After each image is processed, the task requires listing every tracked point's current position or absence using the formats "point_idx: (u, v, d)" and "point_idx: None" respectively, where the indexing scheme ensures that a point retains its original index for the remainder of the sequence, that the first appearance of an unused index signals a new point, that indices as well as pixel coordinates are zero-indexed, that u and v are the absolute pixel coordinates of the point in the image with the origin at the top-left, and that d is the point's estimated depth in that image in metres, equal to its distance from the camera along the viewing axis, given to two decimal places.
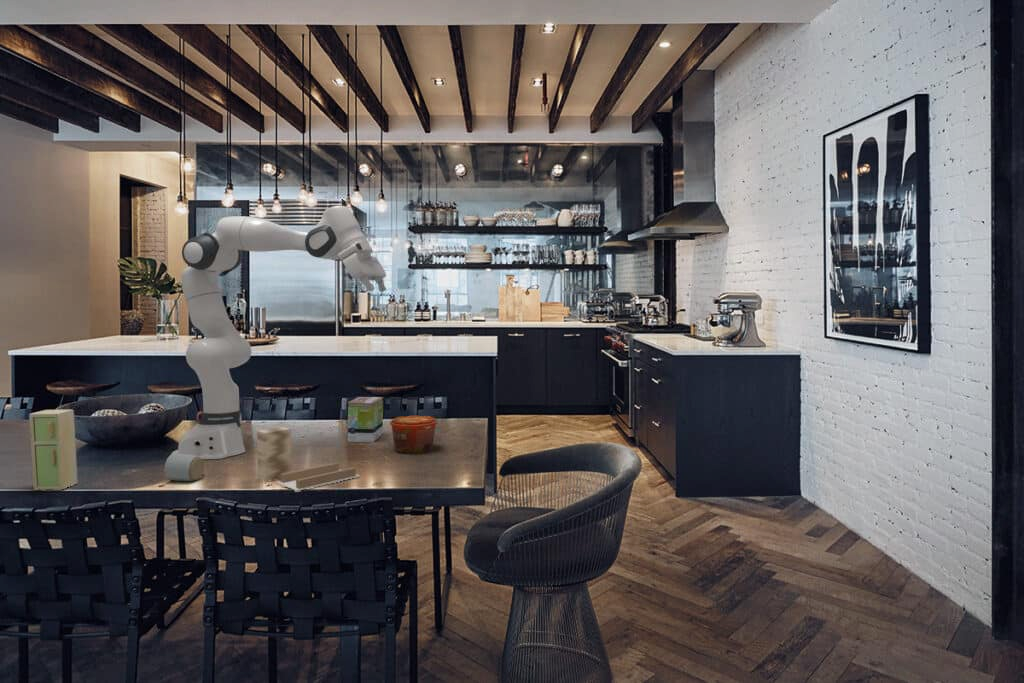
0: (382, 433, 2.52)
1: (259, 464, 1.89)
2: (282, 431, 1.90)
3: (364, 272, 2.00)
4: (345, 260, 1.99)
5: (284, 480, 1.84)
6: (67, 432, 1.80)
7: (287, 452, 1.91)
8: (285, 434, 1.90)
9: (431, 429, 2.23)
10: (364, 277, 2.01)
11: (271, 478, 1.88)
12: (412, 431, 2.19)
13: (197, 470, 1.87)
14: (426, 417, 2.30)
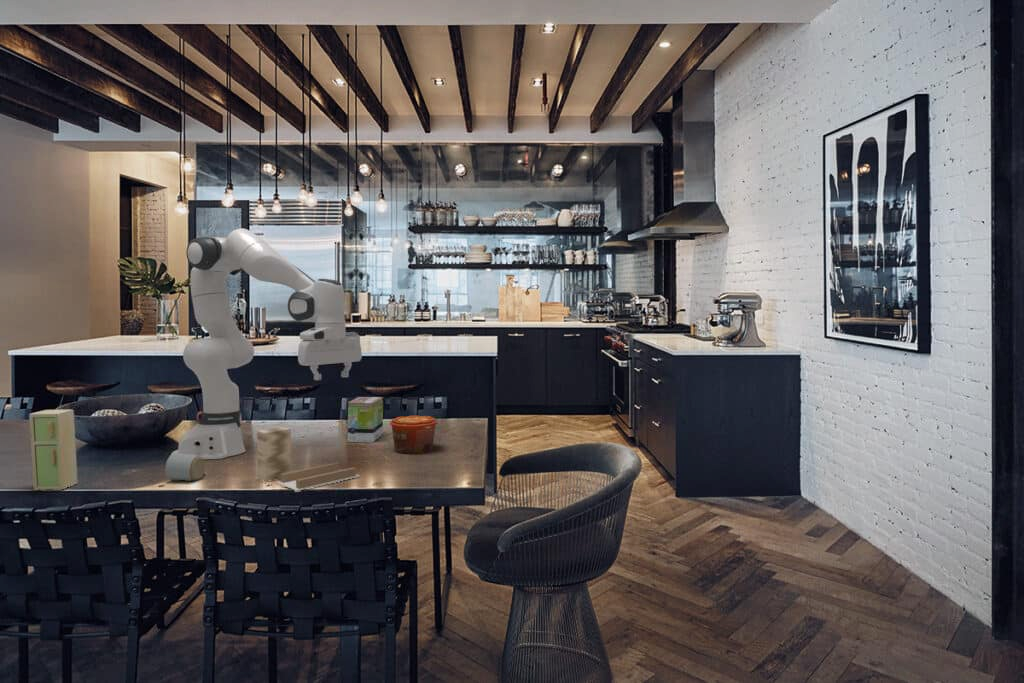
0: (382, 433, 2.52)
1: (259, 464, 1.89)
2: (282, 431, 1.90)
3: (311, 363, 1.93)
4: (300, 343, 1.93)
5: (284, 480, 1.84)
6: (67, 432, 1.80)
7: (287, 452, 1.91)
8: (285, 434, 1.90)
9: (431, 429, 2.23)
10: (313, 366, 1.95)
11: (271, 478, 1.88)
12: (412, 431, 2.19)
13: (198, 469, 1.88)
14: (426, 417, 2.30)
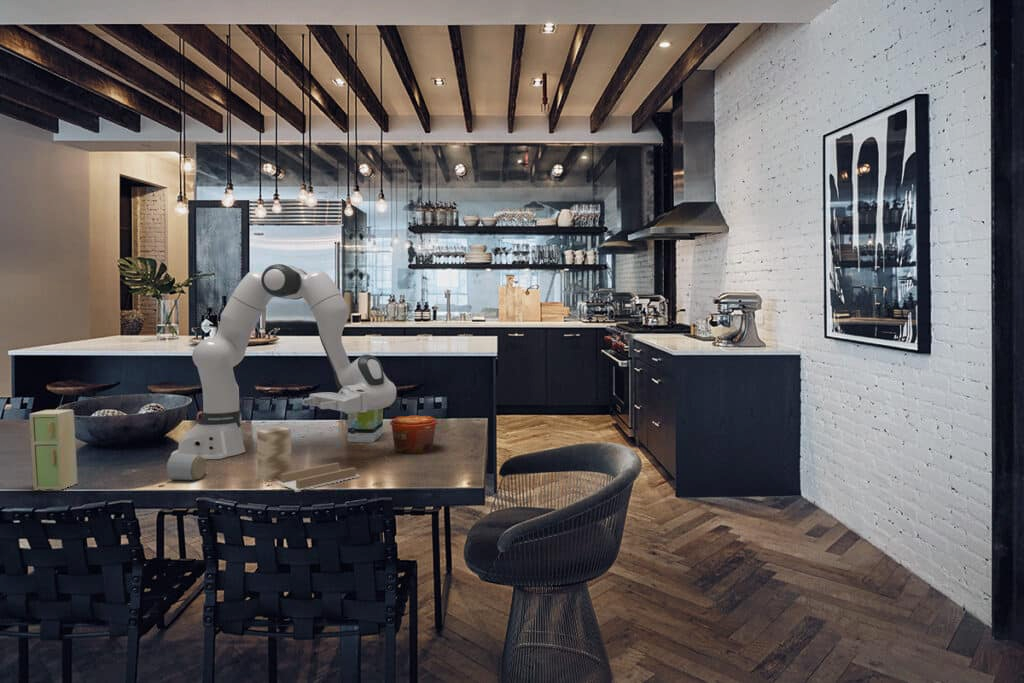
0: (382, 433, 2.52)
1: (259, 464, 1.89)
2: (282, 431, 1.90)
3: None
4: (360, 399, 2.00)
5: (284, 480, 1.84)
6: (67, 432, 1.80)
7: (287, 452, 1.91)
8: (285, 434, 1.90)
9: (431, 429, 2.23)
10: (335, 406, 1.97)
11: (271, 478, 1.88)
12: (412, 431, 2.19)
13: (199, 469, 1.88)
14: (426, 417, 2.30)
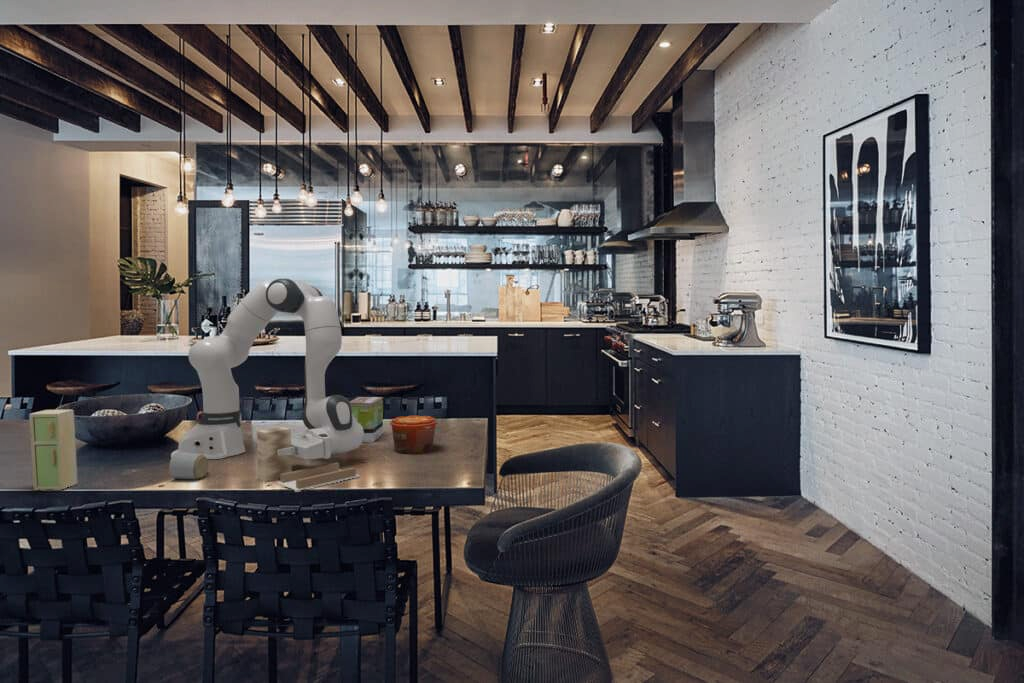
0: (382, 433, 2.52)
1: (259, 464, 1.89)
2: (282, 431, 1.90)
3: (302, 458, 1.89)
4: (322, 445, 1.92)
5: (284, 480, 1.84)
6: (67, 432, 1.80)
7: None
8: (285, 433, 1.90)
9: (431, 429, 2.23)
10: (293, 452, 1.90)
11: (271, 478, 1.88)
12: (412, 431, 2.19)
13: (201, 468, 1.89)
14: (426, 417, 2.30)
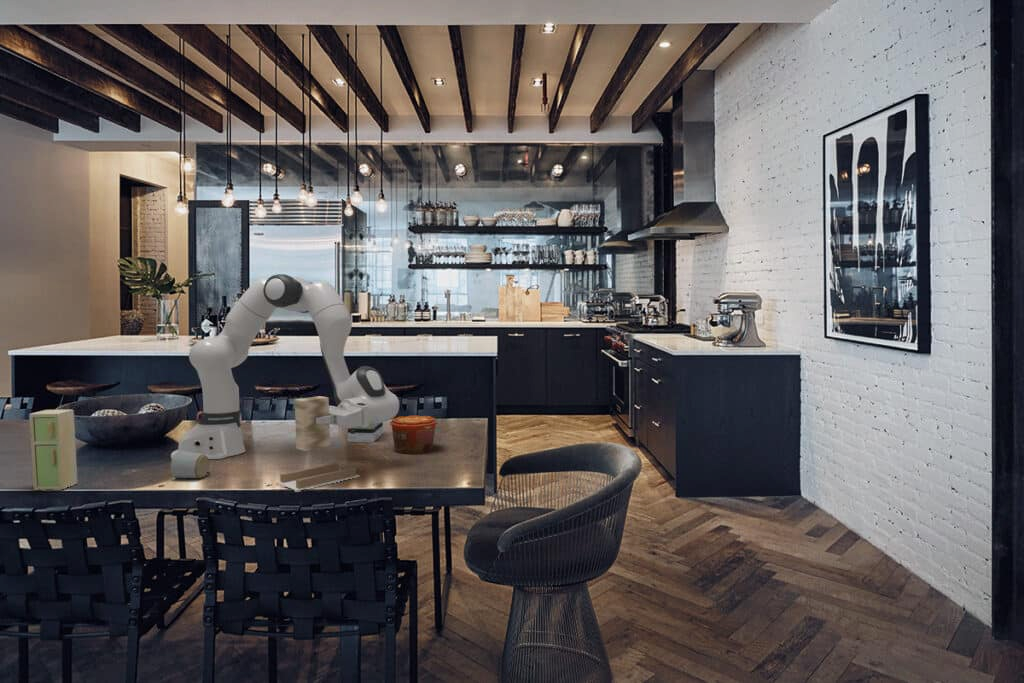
0: (382, 433, 2.52)
1: (297, 433, 1.85)
2: (320, 399, 1.86)
3: (341, 426, 1.85)
4: (361, 413, 1.89)
5: (284, 480, 1.84)
6: (67, 432, 1.80)
7: None
8: (323, 402, 1.87)
9: (431, 429, 2.23)
10: (332, 421, 1.87)
11: (310, 447, 1.85)
12: (412, 431, 2.19)
13: (202, 467, 1.90)
14: (426, 417, 2.30)
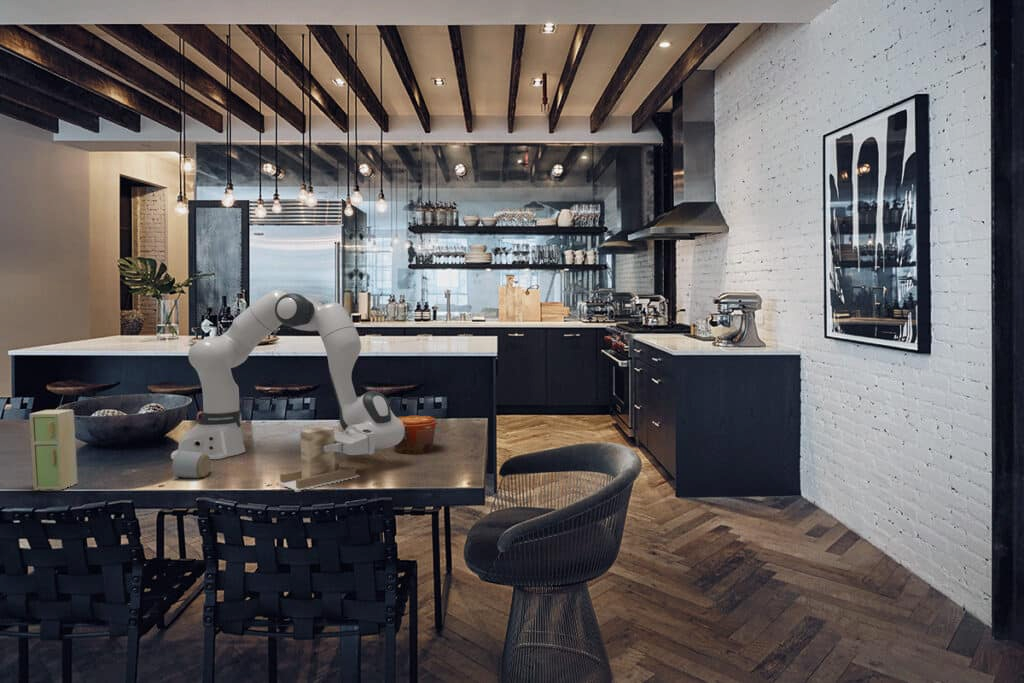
0: None
1: (303, 464, 1.86)
2: (326, 431, 1.87)
3: (347, 454, 1.85)
4: (367, 440, 1.89)
5: (284, 480, 1.84)
6: (67, 432, 1.80)
7: (331, 452, 1.88)
8: (329, 433, 1.88)
9: (431, 429, 2.23)
10: (340, 449, 1.86)
11: None
12: (412, 431, 2.19)
13: (204, 467, 1.91)
14: (426, 417, 2.30)
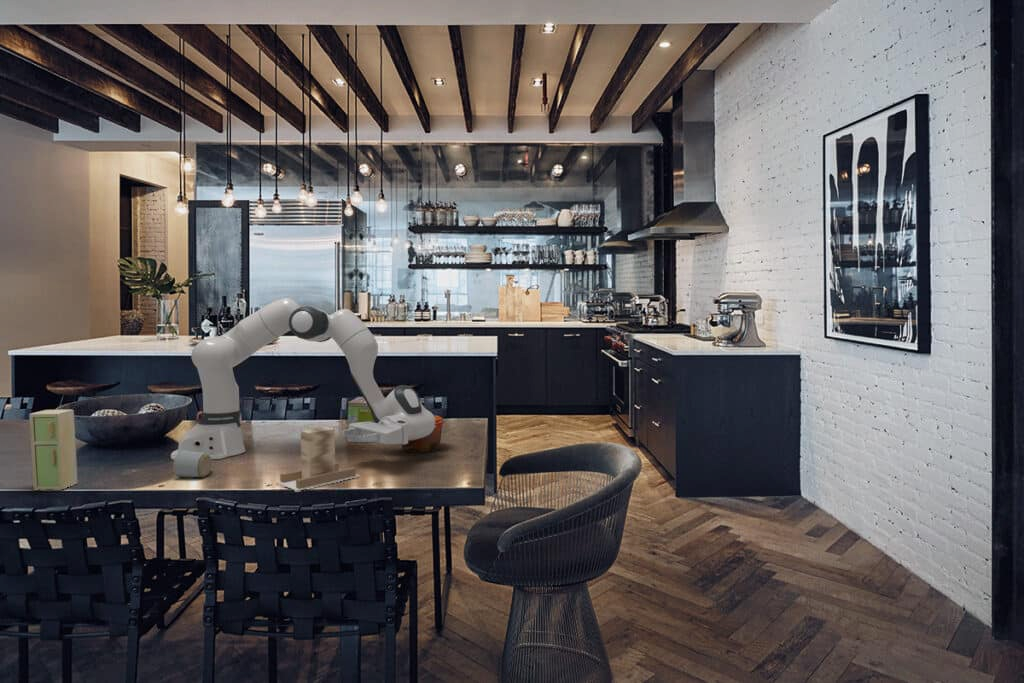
0: None
1: (303, 464, 1.86)
2: (326, 431, 1.87)
3: (383, 443, 1.95)
4: (401, 431, 1.98)
5: (284, 480, 1.84)
6: (67, 432, 1.80)
7: (331, 452, 1.88)
8: (329, 434, 1.87)
9: (438, 428, 2.25)
10: (377, 439, 1.95)
11: None
12: None
13: (205, 466, 1.91)
14: (434, 416, 2.32)
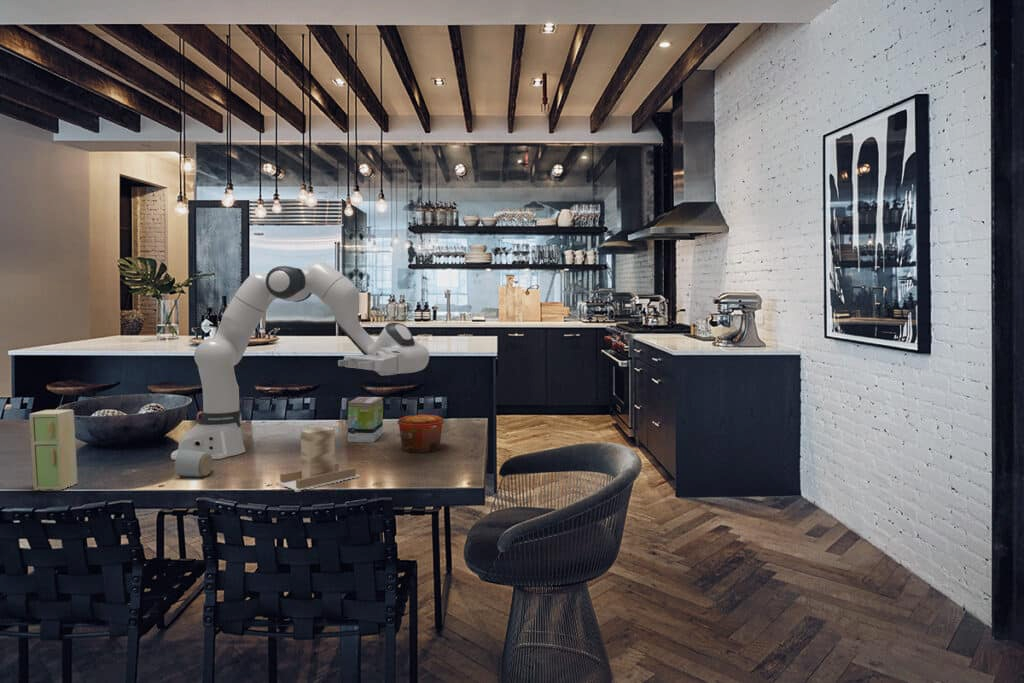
0: (382, 433, 2.52)
1: (303, 464, 1.86)
2: (326, 431, 1.87)
3: (378, 370, 1.97)
4: (396, 359, 2.01)
5: (284, 480, 1.84)
6: (67, 432, 1.80)
7: (331, 452, 1.88)
8: (329, 434, 1.87)
9: (437, 428, 2.25)
10: (372, 366, 1.98)
11: None
12: (418, 430, 2.21)
13: (206, 466, 1.92)
14: (433, 416, 2.32)
